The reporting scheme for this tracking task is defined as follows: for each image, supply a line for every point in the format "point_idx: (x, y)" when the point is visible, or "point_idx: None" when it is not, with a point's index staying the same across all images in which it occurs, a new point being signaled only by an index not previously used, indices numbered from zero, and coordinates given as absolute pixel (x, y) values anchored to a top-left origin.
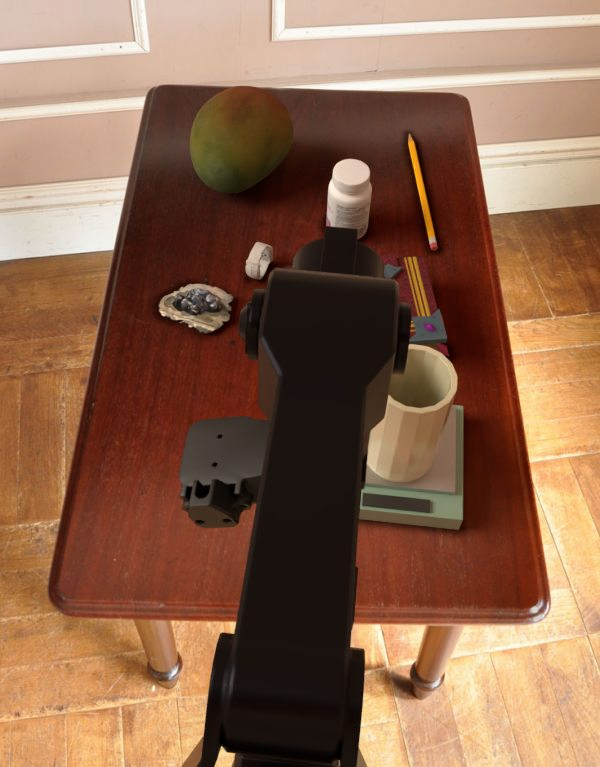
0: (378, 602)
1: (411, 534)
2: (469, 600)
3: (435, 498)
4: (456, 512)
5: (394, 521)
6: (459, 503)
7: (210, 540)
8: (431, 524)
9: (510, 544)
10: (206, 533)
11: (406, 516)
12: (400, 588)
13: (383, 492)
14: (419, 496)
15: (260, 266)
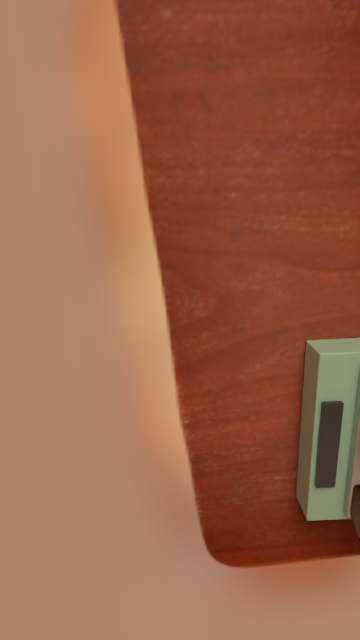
0: (187, 417)
1: (285, 445)
2: (206, 508)
3: (337, 489)
4: (317, 513)
5: (302, 428)
6: (330, 516)
7: (249, 164)
8: (300, 472)
9: (281, 543)
10: (261, 154)
11: (308, 453)
12: (210, 439)
13: (345, 427)
14: (339, 471)
15: None
